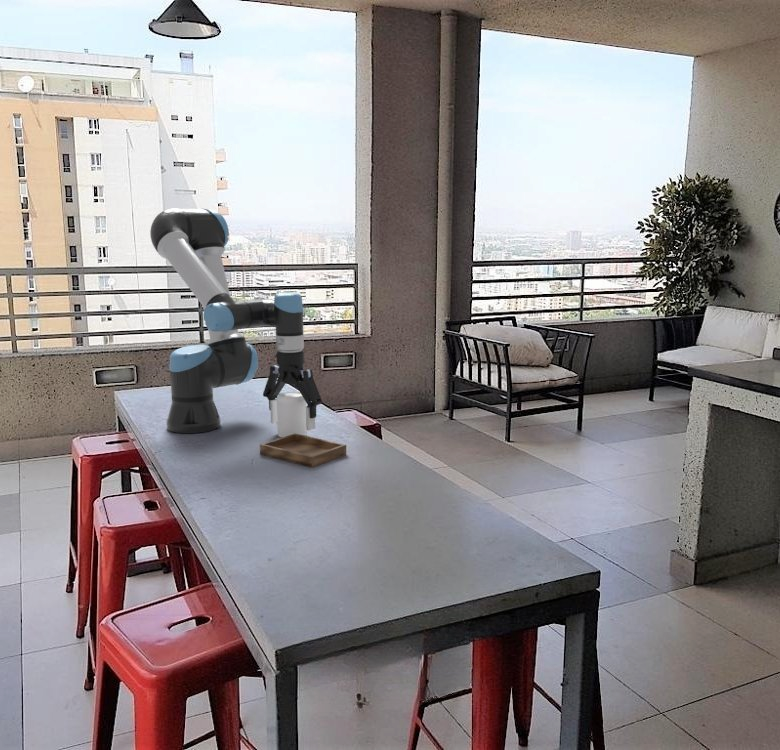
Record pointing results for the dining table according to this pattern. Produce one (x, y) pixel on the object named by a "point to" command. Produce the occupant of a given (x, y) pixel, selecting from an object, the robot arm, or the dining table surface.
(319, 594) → the dining table surface
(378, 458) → the dining table surface
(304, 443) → the walnut tray
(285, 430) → the beverage can
